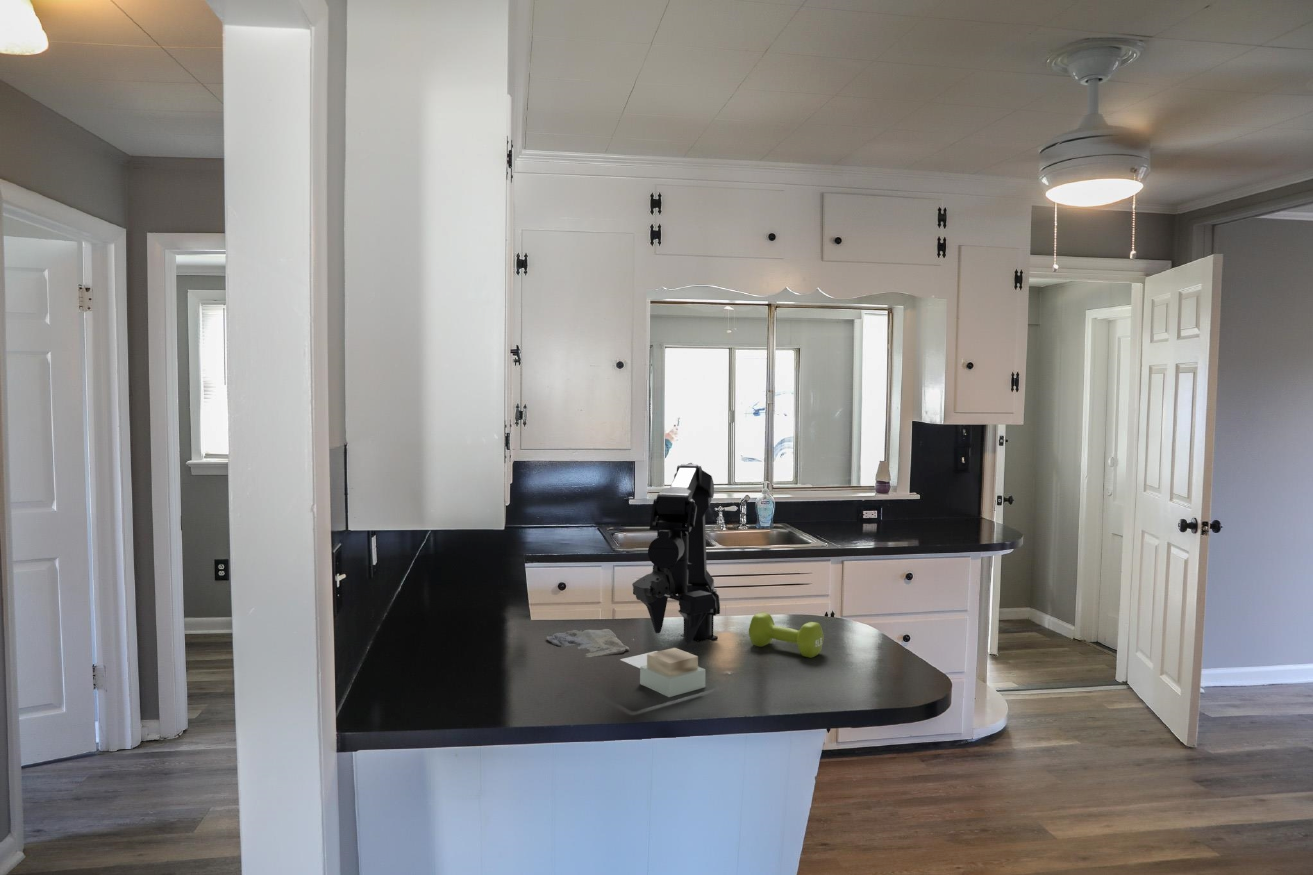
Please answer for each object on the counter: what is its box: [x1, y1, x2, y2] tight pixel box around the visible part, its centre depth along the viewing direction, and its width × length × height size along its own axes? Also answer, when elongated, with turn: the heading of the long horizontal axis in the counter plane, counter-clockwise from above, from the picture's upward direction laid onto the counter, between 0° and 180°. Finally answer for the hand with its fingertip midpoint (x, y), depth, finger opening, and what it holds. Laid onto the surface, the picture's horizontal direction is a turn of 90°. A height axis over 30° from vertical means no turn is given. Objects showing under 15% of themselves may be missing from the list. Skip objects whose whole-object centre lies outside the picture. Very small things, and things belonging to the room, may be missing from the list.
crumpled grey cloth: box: [546, 628, 630, 658], centre depth 188 cm, size 18×15×2 cm
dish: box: [639, 665, 707, 698], centre depth 161 cm, size 9×9×4 cm
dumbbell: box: [748, 612, 825, 659], centre depth 187 cm, size 16×8×7 cm, turn 51°
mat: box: [619, 650, 659, 669], centre depth 176 cm, size 10×10×1 cm
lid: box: [647, 647, 699, 676], centre depth 161 cm, size 7×7×2 cm
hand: (672, 638), depth 161 cm, fingers open, 9 cm apart
